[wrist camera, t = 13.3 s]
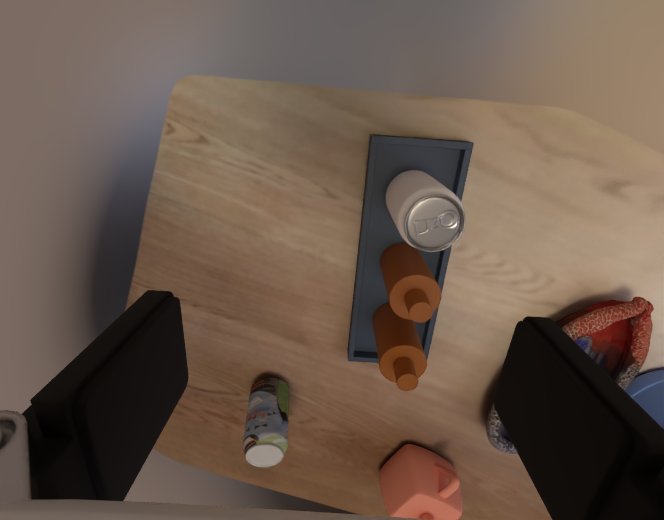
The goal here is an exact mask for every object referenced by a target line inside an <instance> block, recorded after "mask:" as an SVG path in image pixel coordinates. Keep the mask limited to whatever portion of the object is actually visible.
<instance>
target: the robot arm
mask: <svg viewBox="0 0 664 520" xmlns="http://www.w3.org/2000/svg"><path fill="white" fill-rule="evenodd" d="M187 382H188V368H187V359H186V350H185V342H184V333H183V324H182V315H181V307H180V300H179V298H177V297H174V295H173V294H172V292H169V291H154V290H148V291H147V292H145V293H144V294H143V295H142V296H141V297H140V298H139V299H138V300H137V301H136V302H135V303H134V304H133V305H131V306H130V307H129V308H128V309H127V310H126V311H125V312H124V313H123V314H122V315H121V316H120V317H119V318H118V319H116V320H115V321H114V322H113V323H112V324H111V325H110V326H109V327H108V328H107V329H106V330H105V331H104V332H103V333H101V335H100V336H98V337H97V338H96V339H95V340H94V341H93V342H92V343H91V344H90V345H89V346H88V347H87V348H85V349H84V350H83V351H82V352H81V353H80V354H79V355H78V356H77V357H76V358H75V359H74V360H73V361H72V362H70V363H69V364H68V365H67V366H66V367H65V368H64V369H63V370H62V371H61V372H60V373H59V374H58V375H57V376H56V377H54V378H53V379H52V380H51V381H50V382H49V383H48V384H47V385H46V386H45V387H44V388H43V389H42V390H41V391H39V393H37V394H36V395H35V396H34V397H33V398H32V399H31V400H30V401H31V404H32V405H31V406H30V407H29V408H28V409H27V410H25V411H24V413H22V414H20V413H18V412H15V411H8V410H4V411H0V520H430V519H415V518H400V517H385V516H369V515H354V514H338V513H322V512H306V511H291V510H274V509H257V508H240V507H223V506H206V505H188V504H171V503H152V502H151V503H149V502H128V501H123V500H124V499H125V497H126V495H127V493H128V491H129V490H130V488H131V486H132V484H133V482H134V480H135V479H136V477H137V475H138V473H139V472H140V470H141V468H142V466H143V464H144V462H145V461H146V459H147V457H148V455H149V453H150V452H151V450H152V448H153V446H154V444H155V443H156V441H157V439H158V437H159V435H160V434H161V432H162V430H163V428H164V426H165V425H166V423H167V421H168V419H169V417H170V416H171V414H172V412H173V410H174V408H175V407H176V405H177V403H178V401H179V399H180V398H181V396H182V394H183V392H184V390H185V388H186V386H187ZM493 402H494V408H495V410H496V412H497V414H498V416H499V418H500V420H501V422H502V424H503V426H504V427H505V429H506V431H507V433H508V435H509V437H510V439H511V441H512V443H513V445H514V447H515V449H516V451H517V452H518V454H519V456H520V458H521V460H522V462H523V464H524V466H525V468H526V470H527V472H528V474H529V476H530V477H531V479H532V481H533V483H534V485H535V487H536V489H537V491H538V493H539V495H540V497H541V499H542V501H543V502H544V504H545V506H546V508H547V510H548V512H549V514H550V516H551V518H552V520H664V429H663V428H662V427H661V426H660V425H659V424H658V423H657V422H656V421H655V420H654V419H653V418H652V417H651V416H650V415H649V414H648V413H647V412H646V411H645V410H644V409H643V408H642V407H641V406H640V405H639V404H638V403H637V402H636V401H635V400H634V399H632V398H631V397H630V396H629V395H628V394H627V393H626V392H625V391H624V390H623V389H622V388H621V387H620V386H619V385H618V384H617V383H616V382H615V381H614V380H613V379H612V378H611V377H610V376H609V375H608V374H607V373H606V372H605V371H604V370H603V369H602V368H601V367H600V366H599V365H598V364H597V363H596V362H595V361H594V360H593V359H592V358H591V357H590V356H589V355H588V354H587V353H586V352H585V351H584V350H583V349H582V348H581V347H580V346H579V345H578V344H577V343H576V342H575V341H574V340H572V339H571V338H570V337H569V336H568V335H567V334H566V333H565V332H564V331H563V330H562V329H561V328H560V327H559V326H558V325H557V324H556V323H555V322H554V321H553V320H552V319H550V318H543V317H529V316H528V317H525V318H524V319H523V321H520V322H518V323H517V325H516V328H515V331H514V334H513V337H512V340H511V343H510V346H509V349H508V353H507V356H506V359H505V362H504V365H503V368H502V371H501V374H500V378H499V381H498V384H497V387H496V390H495V393H494V397H493Z"/></svg>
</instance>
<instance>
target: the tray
mask: <svg viewBox="0 0 664 520" xmlns="http://www.w3.org/2000/svg"><path fill="white" fill-rule="evenodd" d="M472 148H473V143H472V142H468V141H456V140H442V139H429V138H415V137H401V136H388V135H374V134H370V142H369V151H368V161H367V171H366V180H365V190H364V199H363V209H362V219H361V228H360V238H359V247H358V257H357V267H356V276H355V286H354V295H353V305H352V315H351V324H350V334H349V343H348V361H358V362H373V363H379V361H378V355H377V348H376V342H375V335H374V329H373V322H372V317H373V314H374V312H375V311H376V309H377V308H378V307H380V306H381V305H383V304H385V303H389V299H388V295H387V291H386V287H385V283H384V279H383V275H382V272H381V268H380V258H381V255H382V253H383V252H384V251H385V250H386V249H387V248H388V247H389V246H391V245H393V244H396V243H407V242H406V241H405V240H404V239H403V238H402V236H401V235H400V233H399V231H398V229H397V227H396V225H395V223H394V221H393V219H392V217H391V215H390V212H389V210H388V208H387V205H386V191H387V188H388V186H389V184H390V182H391V181H392V180H393V179H394V178H395V177H396V176H397V175H399V174H401V173H403V172H405V171H409V170H418V171H422V172H425V173H427V174H428V175H430V176H431V177H433V178H434V179H435V180H437V181H438V182H440V183H441V184H442V185H444V186H445V187H446V188H448V189H449V190H450V191H452V192H453V193H454V194H455V195H456V196H457V197H458V199H459V200H460V202H461V199H462V195H463V190H464V185H465V181H466V176H467V171H468V167H469V162H470V157H471V153H472ZM451 246H452V245H451ZM451 246H450V247H448V248H447V249H444V250H442V251H438V252H425V251H422V250H419V249H418V250H419V252H420V254H421V255H422V257H423V259H424V261H425V262H426V264H427V266H428V268H429V270H430V271H431V273H432V275H433V277H434V278H435V280H436V282H437V284H438V285H439V287H440V290H441V293H442V288H443V284H444V279H445V274H446V270H447V265H448V260H449V256H450V251H451ZM438 307H439V306H438ZM438 307H437V309H436V310H435V311H434V312H433V314H432V317H431V318H430V319H429V320H428V321H426V322H422V323H418V322H415V321H413V322H414V325H415V328H416V331H417V333H418V336H419V339H420V342H421V345H422V348H423V351H424V353H425V356H426V360H427V358H428V354H429V349H430V344H431V340H432V335H433V330H434V326H435V321H436V316H437V312H438Z"/></svg>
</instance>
